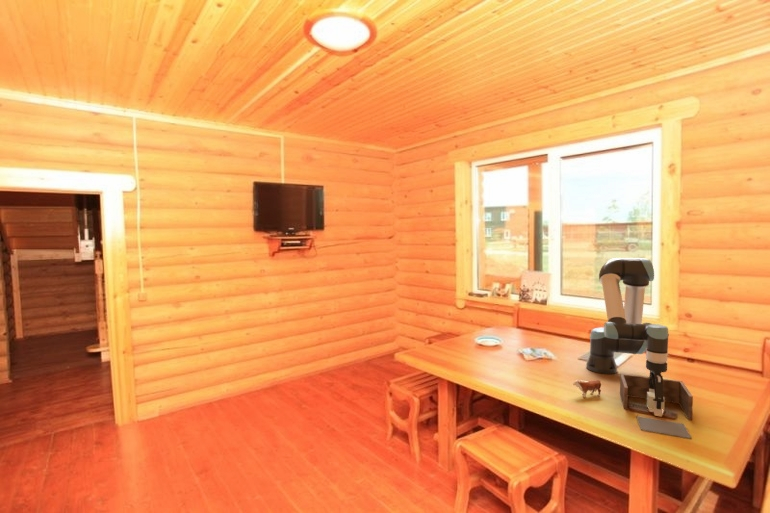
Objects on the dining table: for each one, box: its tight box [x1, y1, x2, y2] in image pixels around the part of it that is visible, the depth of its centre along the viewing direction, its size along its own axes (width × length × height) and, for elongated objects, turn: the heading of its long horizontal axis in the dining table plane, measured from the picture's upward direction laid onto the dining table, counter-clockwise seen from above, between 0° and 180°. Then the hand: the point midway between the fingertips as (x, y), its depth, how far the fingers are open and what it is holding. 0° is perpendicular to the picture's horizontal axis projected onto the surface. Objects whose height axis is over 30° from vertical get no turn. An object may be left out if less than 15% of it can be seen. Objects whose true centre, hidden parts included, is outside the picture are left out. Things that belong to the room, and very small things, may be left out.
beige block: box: [646, 392, 666, 411], centre depth 169 cm, size 6×6×7 cm
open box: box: [619, 373, 694, 421], centre depth 173 cm, size 24×18×10 cm
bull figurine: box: [572, 379, 602, 399], centre depth 185 cm, size 4×13×8 cm, turn 95°
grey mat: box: [636, 415, 692, 440], centre depth 155 cm, size 16×12×1 cm
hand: (655, 409), depth 169 cm, fingers open, 12 cm apart
